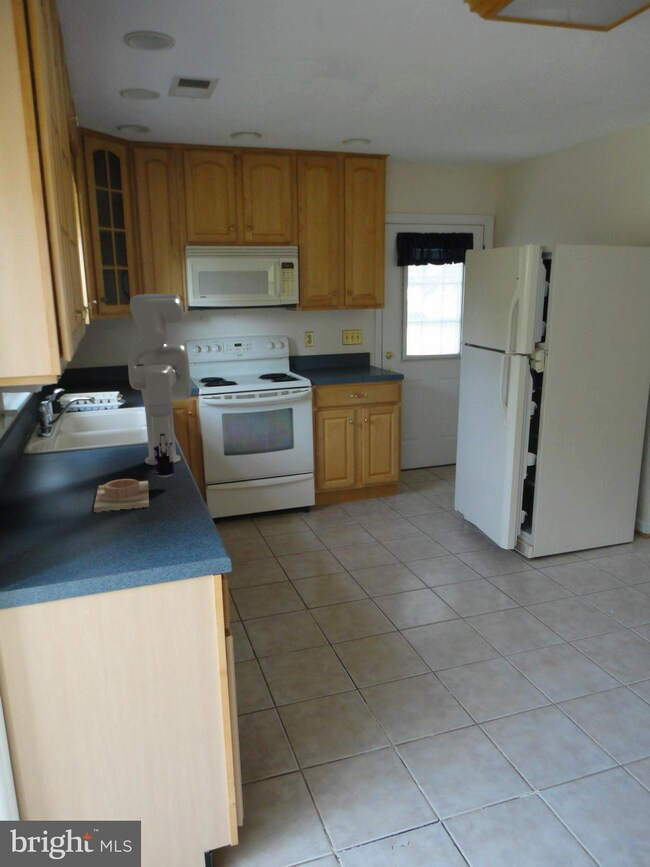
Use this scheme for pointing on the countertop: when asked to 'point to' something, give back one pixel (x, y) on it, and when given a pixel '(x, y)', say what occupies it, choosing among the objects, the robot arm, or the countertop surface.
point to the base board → (122, 500)
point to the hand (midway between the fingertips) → (164, 464)
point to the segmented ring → (121, 488)
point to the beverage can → (160, 472)
